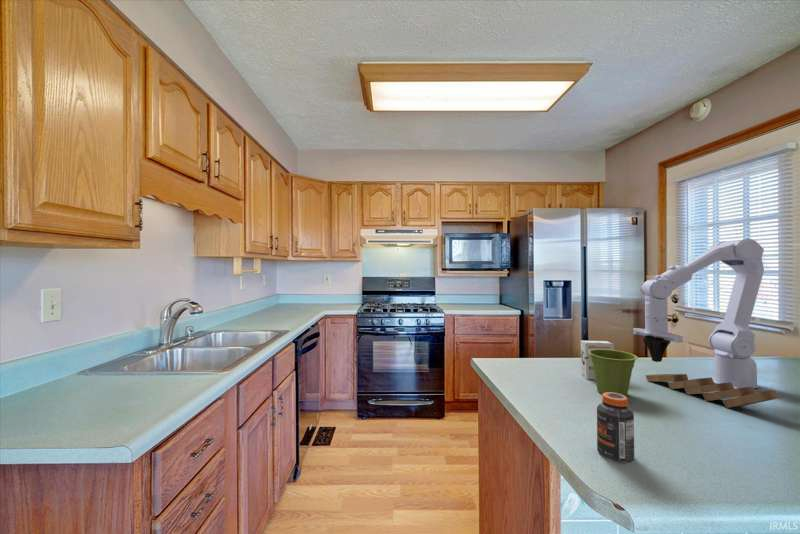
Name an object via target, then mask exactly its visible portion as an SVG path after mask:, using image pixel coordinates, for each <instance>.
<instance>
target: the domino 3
mask: <svg viewBox="0 0 800 534" xmlns="http://www.w3.org/2000/svg"><path fill="white" fill-rule="evenodd" d="M683 389H684V391H685V394H686V395H687V394H688V395H696V394H706V393H712V392H718V391H724V390H730V389H734V387H733V385H732V383H731V382H728V383H719V384H715V383H714V384H711V385H703V386H695V387H687V388H683ZM688 395H687V396H688Z"/></svg>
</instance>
